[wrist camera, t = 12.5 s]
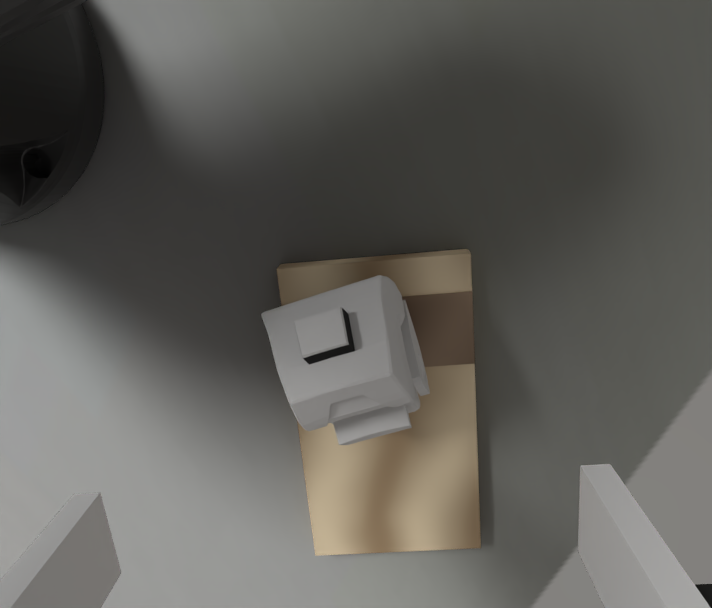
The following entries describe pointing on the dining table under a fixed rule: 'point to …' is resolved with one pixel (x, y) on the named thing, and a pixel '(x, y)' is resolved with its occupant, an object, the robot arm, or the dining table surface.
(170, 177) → the dining table surface
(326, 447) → the plywood panel
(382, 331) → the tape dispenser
